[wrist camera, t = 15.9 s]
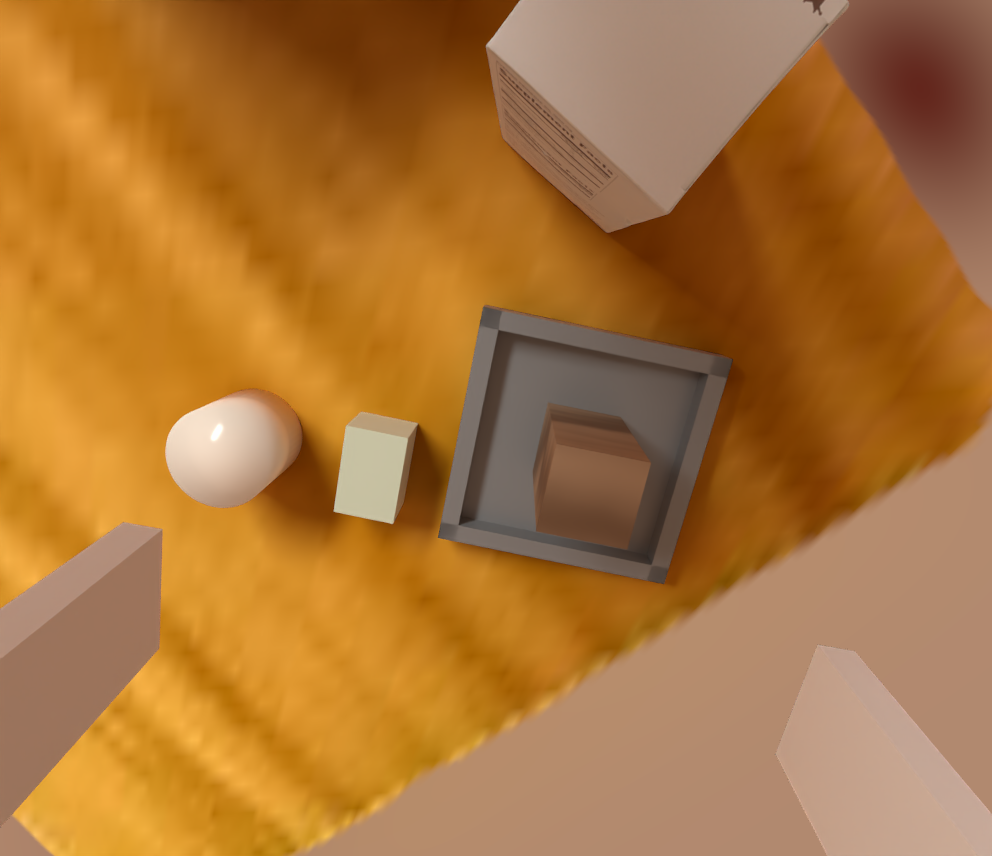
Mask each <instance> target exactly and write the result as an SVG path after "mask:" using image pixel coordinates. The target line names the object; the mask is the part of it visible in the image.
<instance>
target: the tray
mask: <svg viewBox="0 0 992 856" xmlns="http://www.w3.org/2000/svg"><path fill="white" fill-rule="evenodd" d="M732 361H733V359H730V358H728V357H726V356H724V355H721V354H716V353H711V352H707V351H702V350H697V349H692V348H688V347H683V346H678V345H673V344H669V343H664V342H659V341H655V340H650V339H645V338H640V337H636V336H631V335H626V334H621V333H617V332H612V331H607V330H602V329H598V328H593V327H588V326H583V325H579V324H574V323H569V322H565V321H560V320H555V319H550V318H546V317H541V316H536V315H531V314H527V313H522V312H517V311H512V310H508V309H503V308H498V307H493V306H489V305H485V306H484V307H483V311H482V316H481V321H480V326H479V332H478V337H477V342H476V347H475V352H474V357H473V362H472V367H471V372H470V377H469V382H468V388H467V393H466V398H465V403H464V408H463V413H462V418H461V423H460V428H459V433H458V439H457V444H456V449H455V454H454V459H453V464H452V469H451V474H450V479H449V484H448V489H447V495H446V500H445V505H444V510H443V515H442V520H441V525H440V530H439V535H438V538H442V539H446V540H451V541H456V542H461V543H466V544H471V545H476V546H481V547H486V548H490V549H495V550H500V551H505V552H510V553H515V554H520V555H525V556H529V557H534V558H539V559H544V560H549V561H554V562H559V563H564V564H569V565H573V566H578V567H583V568H588V569H593V570H598V571H603V572H608V573H612V574H617V575H622V576H627V577H632V578H637V579H642V580H647V581H652V582H656V583H661V584H664V582H665V579H666V576H667V572H668V569H669V566H670V563H671V559H672V556H673V553H674V550H675V546H676V543H677V540H678V537H679V533H680V530H681V527H682V524H683V520H684V517H685V514H686V511H687V507H688V504H689V501H690V498H691V494H692V491H693V488H694V485H695V481H696V478H697V475H698V472H699V468H700V465H701V462H702V459H703V455H704V452H705V449H706V446H707V442H708V439H709V436H710V433H711V429H712V426H713V423H714V420H715V416H716V413H717V410H718V407H719V403H720V400H721V397H722V394H723V390H724V387H725V384H726V381H727V377H728V374H729V371H730V368H731V364H732ZM548 403H553V404H558V405H563V406H568V407H573V408H578V409H583V410H588V411H593V412H598V413H603V414H608V415H613V416H618V417H621V418H622V420H623V421H624V423H625V424H626V426H627V427H628V429H629V430H630V432H631V433H632V435H633V436H634V438H635V439H636V441H637V442H638V444H639V445H640V447H641V448H642V450H643V451H644V453H645V454H646V456H647V457H648V459H649V460H650V462H651V465H650V469H649V472H648V476H647V480H646V483H645V487H644V491H643V494H642V498H641V502H640V505H639V509H638V512H637V516H636V520H635V523H634V527H633V531H632V534H631V538H630V542H629V545H628V549H622V548H617V547H612V546H607V545H602V544H597V543H592V542H587V541H582V540H576V539H571V538H566V537H561V536H556V535H551V534H546V533H541V532H536V520H535V504H534V487H533V467H534V463H535V458H536V454H537V449H538V445H539V440H540V436H541V431H542V427H543V422H544V418H545V413H546V409H547V404H548Z"/></svg>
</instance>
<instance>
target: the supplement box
mask: <svg viewBox="0 0 992 856" xmlns="http://www.w3.org/2000/svg"><path fill="white" fill-rule="evenodd" d="M848 7H849V2H848V1H847V0H520V1H519V2H518V4H517V5H516V6H515V8H514V9H513V10H512V12H511V13H510V14H509V16H508V17H507V19H506V20H505V21H504V23H503V24H502V25H501V27H500V28H499V29H498V31H497V32H496V34H495V35H494V36H493V38H492V39H491V40H490V41H489V42H488V43H487V45H486V51H487V56H488V62H489V67H490V72H491V78H492V83H493V89H494V95H495V100H496V106H497V111H498V117H499V122H500V128H501V133H502V138H503V139H504V140H505V141H506V142H507V143H508V144H509V145H510V146H511V147H512V148H513V149H514V150H515V151H516V152H517V153H518V154H519V155H520V156H521V157H523V158H524V159H525V160H526V161H527V162H528V163H529V164H530V165H531V166H532V167H533V168H535V169H536V170H537V171H538V172H539V173H540V174H541V175H542V176H544V177H545V178H546V179H547V180H548V181H549V182H550V183H551V184H552V185H554V186H555V187H556V188H557V189H558V190H559V191H560V192H561V193H563V194H564V195H565V196H566V197H567V198H568V199H569V200H570V201H572V202H573V203H574V204H575V205H576V206H577V207H578V208H579V209H581V210H582V211H583V212H584V213H585V214H586V215H587V216H588V217H589V218H590V219H592V220H593V221H594V222H595V223H596V224H597V225H598V226H599V227H600V228H602V229H603V230H604V231H605V232H607V233H610V232H613V231H616V230H619V229H622V228H625V227H628V226H630V225H633V224H637V223H641V222H644V221H647V220H650V219H653V218H657V217H660V216H664V215H668V214H669V213H670V212H671V211H672V210H673V208H674V207H675V206H676V204H677V203H678V202H679V201H680V199H681V198H682V197H683V196H684V194H685V193H686V192H687V191H688V189H689V188H690V187H691V186H692V185H693V183H694V182H695V181H696V180H697V179H698V177H699V176H700V175H701V174H702V173H703V171H704V170H705V169H706V168H707V167H708V165H709V164H710V163H711V162H712V161H713V159H714V158H715V157H716V156H717V155H718V153H719V152H720V151H721V150H722V149H723V147H724V146H725V145H726V144H727V143H728V141H729V140H730V139H731V138H732V137H733V136H734V134H735V133H736V132H737V131H738V130H739V128H740V127H741V126H742V125H743V124H744V123H745V121H746V120H747V119H748V118H749V117H750V116H751V114H752V113H753V112H754V111H755V110H756V108H757V107H758V106H759V105H760V104H761V103H762V101H763V100H764V99H765V98H766V97H767V96H768V95H769V93H770V92H771V91H772V90H773V89H774V88H775V87H776V86H777V85H778V83H779V82H780V81H781V80H782V79H783V78H784V77H785V76H786V75H787V73H788V72H789V71H790V70H791V69H792V68H793V67H794V66H795V64H796V63H797V62H798V61H799V60H800V59H801V58H802V57H803V56H804V54H805V53H806V52H807V51H808V50H809V49H810V48H811V47H812V46H813V44H814V43H815V42H816V41H817V40H818V39H819V38H820V37H821V36H822V35H823V34H824V33H825V32H826V30H827V29H828V28H829V27H830V26H831V25H832V24H833V23H834V22H835V21H836V20H837V19H838V18H839V17H840V16H841V15H842V14H843V13H844V12H845V11H846V10H847V9H848Z"/></svg>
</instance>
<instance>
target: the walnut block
mask: <svg viewBox="0 0 992 856" xmlns="http://www.w3.org/2000/svg"><path fill="white" fill-rule="evenodd" d="M650 465H651V462H650V460H649V459H648V457H647V456H646V454H645V453H644V451H643V450H642V448H641V447H640V445H639V444H638V442H637V441H636V439H635V438H634V436H633V435H632V433H631V432H630V430H629V429H628V427H627V426H626V424H625V423H624V421H623V420H622V418H621V417H618V416H613V415H608V414H603V413H598V412H593V411H588V410H583V409H578V408H573V407H568V406H563V405H558V404H553V403H548V404H547V409H546V413H545V418H544V422H543V427H542V431H541V436H540V440H539V445H538V449H537V454H536V458H535V463H534V467H533V487H534V504H535V520H536V532H541V533H546V534H551V535H556V536H561V537H566V538H571V539H576V540H582V541H587V542H592V543H597V544H602V545H607V546H612V547H617V548H622V549H628V545H629V542H630V538H631V534H632V531H633V527H634V523H635V520H636V516H637V512H638V509H639V505H640V502H641V498H642V494H643V491H644V487H645V483H646V480H647V476H648V472H649V469H650Z"/></svg>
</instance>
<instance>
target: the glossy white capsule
mask: <svg viewBox="0 0 992 856" xmlns="http://www.w3.org/2000/svg"><path fill="white" fill-rule="evenodd" d="M301 446H302V429H301V425H300V422H299V419H298V417H297V415H296V413H295V412H294V410H293V409H292V408H291V407H290V405H289V404H288V403H287V402H286V401H284V400H283V399H282V398H280V397H279V396H277V395H275V394H274V393H271V392H269V391H265V390H261V389H244V390H240V391H237V392H235V393H233V394H230V395H228V396H226V397H224V398H221V399H219V400H217V401H215V402H212V403H210V404H208V405H206V406H203V407H201V408H199V409H197V410H194V411H192V412H190V413H188V414H186V415H185V416H183V417H182V418H181V419H179V420H178V421H177V423H176V424H175V425H174V426H173V428H172V429H171V431H170V433H169V435H168V439H167V442H166V461H167V465H168V468H169V471H170V473H171V475H172V477H173V479H174V480H175V482H176V483H177V484H178V486H179V487H180V488H181V489H182V490H183V491H184V492H185V493H186V494H187V495H189V496H190V497H192V498H193V499H195V500H197V501H198V502H200V503H203V504H205V505H209V506H212V507H219V508H228V507H235V506H239V505H242V504H244V503H246V502H248V501H250V500H251V499H252V498H254V497H255V496H256V495H257V494H258V493H260V492H261V491H262V490H263V489H264V488H265V487H266V486H268V485H269V484H270V483H271V482H272V481H273V480H275V479H276V478H277V477H278V476H279V475H280V474H281V473H283V472H284V471H285V470H286V469H287V468H288V467H289V466H290V465H291V464H292V463H293V462H294V461H295V460H296V458H297V456H298V454H299V452H300V449H301Z"/></svg>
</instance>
